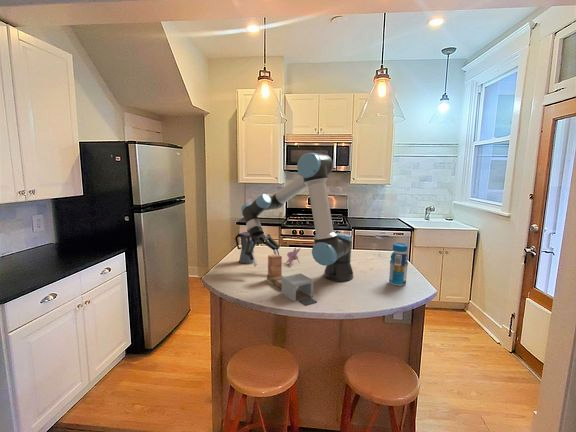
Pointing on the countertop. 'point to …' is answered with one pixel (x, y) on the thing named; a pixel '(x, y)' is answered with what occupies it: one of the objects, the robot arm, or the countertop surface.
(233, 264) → the countertop surface
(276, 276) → the wooden pillar on base
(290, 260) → the lily
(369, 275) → the countertop surface
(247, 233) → the moka pot
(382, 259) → the countertop surface
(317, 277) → the countertop surface
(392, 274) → the beverage bottle
